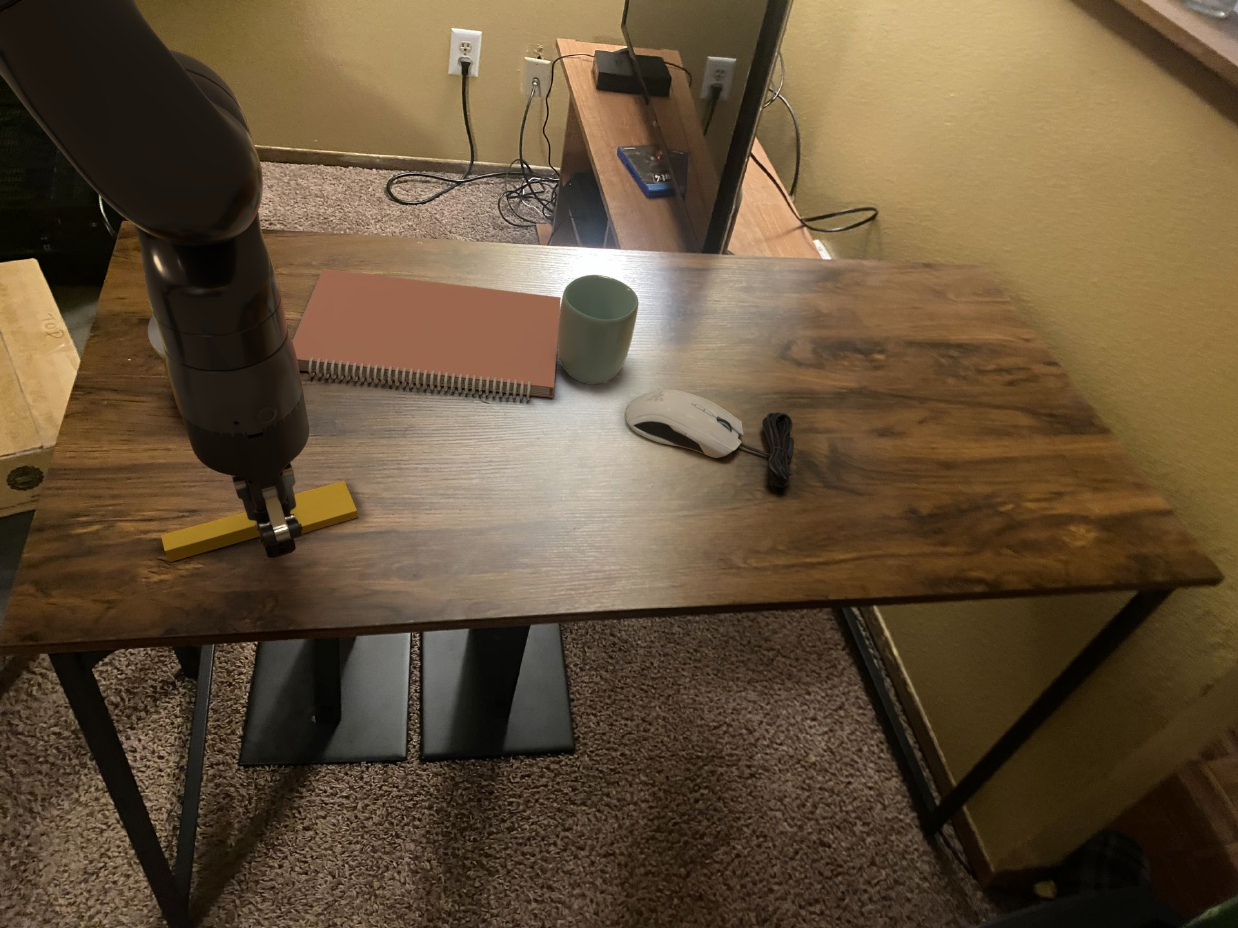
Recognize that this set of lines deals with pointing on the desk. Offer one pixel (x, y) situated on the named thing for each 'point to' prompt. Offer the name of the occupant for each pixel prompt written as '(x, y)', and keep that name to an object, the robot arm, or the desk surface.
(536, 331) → the notebook
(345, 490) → the stepped yellow stick
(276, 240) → the desk surface
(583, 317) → the cup
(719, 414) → the computer mouse
